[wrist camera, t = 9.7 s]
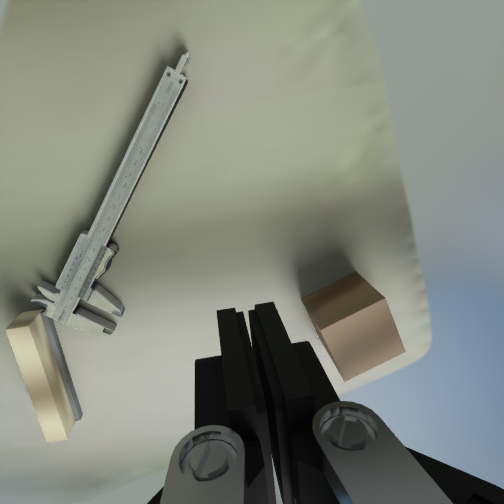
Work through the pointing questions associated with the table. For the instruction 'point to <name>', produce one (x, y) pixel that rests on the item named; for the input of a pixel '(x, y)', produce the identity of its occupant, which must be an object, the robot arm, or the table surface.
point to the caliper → (110, 221)
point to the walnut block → (354, 325)
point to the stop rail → (45, 373)
